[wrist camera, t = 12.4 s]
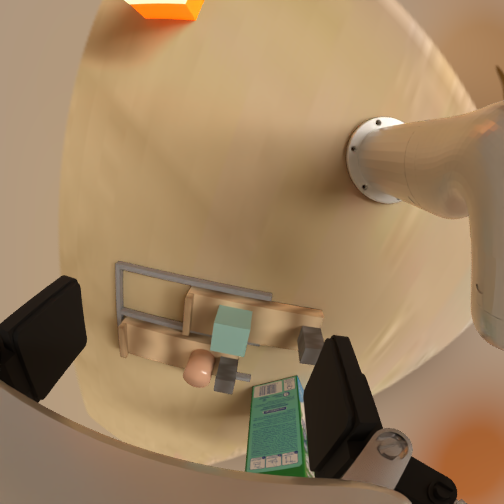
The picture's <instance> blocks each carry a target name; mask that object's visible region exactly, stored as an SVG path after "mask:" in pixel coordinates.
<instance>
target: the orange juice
mask: <svg viewBox="0 0 504 504" xmlns="http://www.w3.org/2000/svg"><path fill="white" fill-rule="evenodd" d="M125 1H126V2H127V3H128V4H130V5H131V6H132V7H133V8H134V9H135V10H137V11H138V12H139V13H140V14H141V15H142V16H143V17H144V18H157V19H182V20H196V19H197V16H198V14H199V11H200V9H201V7H202V4H203V2H204V0H125Z"/></svg>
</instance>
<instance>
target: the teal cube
mask: <svg viewBox="0 0 504 504" xmlns="http://www.w3.org/2000/svg"><path fill="white" fill-rule="evenodd" d="M251 319H252V311H249V310H243V309H238V308H233V307H228V306H223V305H219V308H218V311H217V315H216V318H215V321H214V326H213V333H212V340H211V347H210V350H211V351H216V352H220V353H225V354H230V355H236V356H241V357H244V355H245V351H246V346H247V342H248V338H249V334H250V328H251Z"/></svg>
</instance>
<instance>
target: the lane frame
mask: <svg viewBox="0 0 504 504" xmlns="http://www.w3.org/2000/svg"><path fill="white" fill-rule="evenodd" d="M123 270H127V271H131V272H135V273H139V274H143V275H147V276H152V277H156V278H160V279H164V280H169V281H173V282H178V283H182V284H187V285H191V286H196V287H201V288H205V289H210V290H215V291H220V292H225V293H230V294H235V295H240V296H245V297H250V298H255V299H260V300H266V301H271V299H272V293H268V292H262V291H257V290H252V289H247V288H242V287H237V286H232V285H227V284H222V283H217V282H212V281H207V280H202V279H198V278H193V277H188V276H184V275H179V274H175V273H170V272H166V271H161V270H157V269H152V268H148V267H144V266H139V265H135V264H131V263H126V262H121V261H118V262H117V263H116V305H117V322H118V326H119V325H120V324H121V323H122V321H123V320H124V315H125V316H129V317H132V318H136V319H139V320H143V321H147V322H151V323H154V324H158V325H162V326H166V327H170V328H174V329H178V330H182V331H183V322H178V321H174V320H170V319H166V318H162V317H158V316H154V315H150V314H147V313H143V312H139V311H135V310H132V309H128V308H125V307H123ZM190 332H191V333H195V334H200V335H204V336H209V337H212V335H209V334H204V333H200V332H195V331H190ZM118 336H119V335H118ZM247 344H249V345H254V346H260V344H255V343H249V342H247ZM119 347H120V346H119ZM250 379H251V375H250V374H244V373H238V372H236V380H242V381H247V382H250Z"/></svg>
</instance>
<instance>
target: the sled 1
mask: <svg viewBox="0 0 504 504" xmlns="http://www.w3.org/2000/svg"><path fill="white" fill-rule="evenodd" d="M118 335H119V346H120V356H121V357H123V358H126V357H127V355H128V353H130V354H133V355H136V356H140V357H143V358H146V359H150V360H153V361H157V362H161V363H164V364H168V365H172V366H176V367H180V368H184V369H185V368H186V365H187V362H188V360H189V357H190V354H191V352H192V351H194V350H196V349H204V350H207V351H209V352H211V353H212V354H213V355H214V357H215V364H214V368H213V372H212V375H215V376H216V379H215V385H214V391H217V392H222V393H227V394H232V393H233V389H234V384H235V379H236V372H237V365H238V359H239V356H236V355H230V354H225V353H220V352H216V351H211V350H210V347H211V340H212V337H209V336H204V335H200V334H195V333H191V332H190V333H189V336H186V335H182V330H178V329H174V328H170V327H166V326H162V325H158V324H154V323H151V322H147V321H143V320H139V319H136V318H132V317H129V316H126V317H125V319H124V320H123V321H122V323H121V324H120V325H119V326H118Z"/></svg>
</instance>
